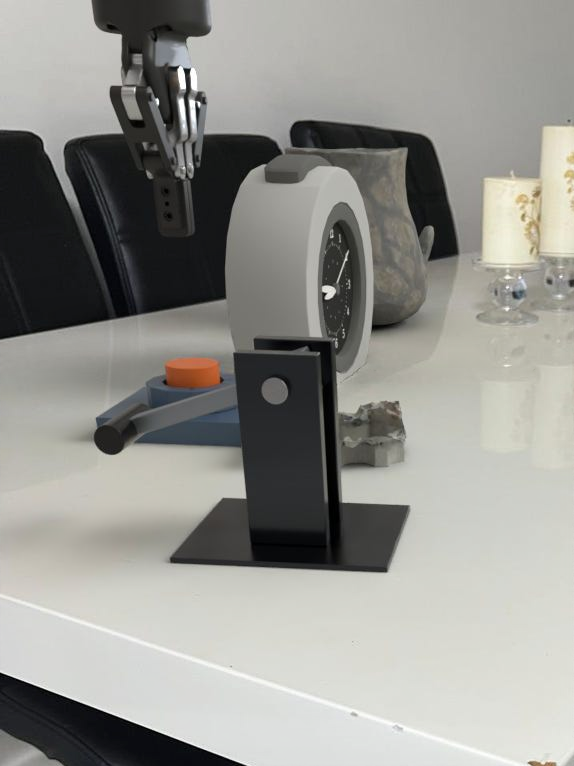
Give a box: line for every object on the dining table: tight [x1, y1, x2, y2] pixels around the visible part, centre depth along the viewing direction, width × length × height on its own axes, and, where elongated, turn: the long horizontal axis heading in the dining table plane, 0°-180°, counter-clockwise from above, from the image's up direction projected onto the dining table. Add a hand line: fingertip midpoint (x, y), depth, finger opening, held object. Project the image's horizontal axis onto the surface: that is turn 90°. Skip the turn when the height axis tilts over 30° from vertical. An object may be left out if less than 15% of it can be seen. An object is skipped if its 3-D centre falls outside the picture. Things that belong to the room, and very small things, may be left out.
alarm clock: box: [224, 153, 373, 385], centre depth 95 cm, size 21×8×20 cm, turn 170°
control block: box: [95, 371, 242, 448], centre depth 78 cm, size 12×10×4 cm
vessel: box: [283, 146, 435, 326], centre depth 121 cm, size 22×22×20 cm
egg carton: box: [338, 400, 408, 468], centre depth 72 cm, size 11×8×4 cm
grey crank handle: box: [93, 346, 323, 456], centre depth 55 cm, size 12×5×2 cm, turn 87°
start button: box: [164, 357, 220, 388], centre depth 77 cm, size 4×4×2 cm
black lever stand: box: [169, 335, 411, 573], centre depth 56 cm, size 12×10×12 cm
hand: (177, 235), depth 72 cm, fingers closed
